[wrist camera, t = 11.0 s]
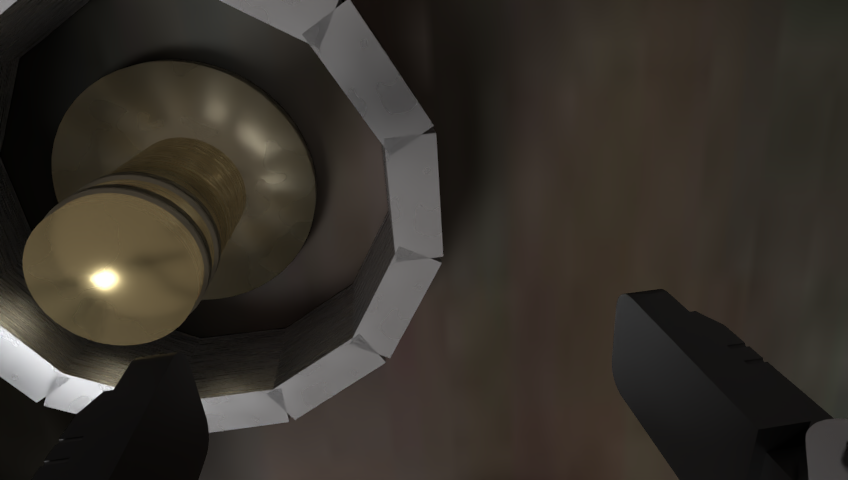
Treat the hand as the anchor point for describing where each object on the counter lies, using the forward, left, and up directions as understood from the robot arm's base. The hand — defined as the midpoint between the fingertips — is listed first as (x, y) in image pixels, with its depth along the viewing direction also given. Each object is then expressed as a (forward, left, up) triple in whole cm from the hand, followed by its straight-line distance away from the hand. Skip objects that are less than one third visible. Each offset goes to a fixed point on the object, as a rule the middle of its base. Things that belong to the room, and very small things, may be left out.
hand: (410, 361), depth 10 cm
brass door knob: (+7, 0, -12) cm, 14 cm away
